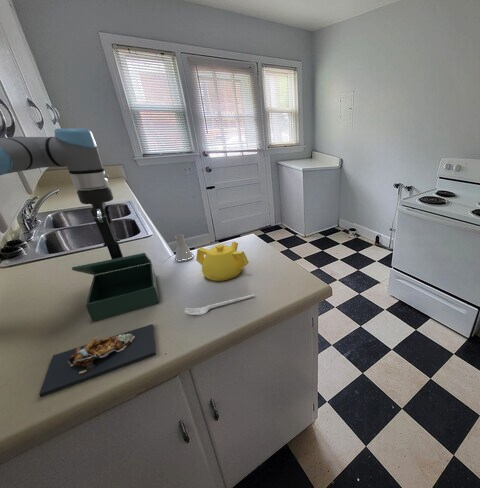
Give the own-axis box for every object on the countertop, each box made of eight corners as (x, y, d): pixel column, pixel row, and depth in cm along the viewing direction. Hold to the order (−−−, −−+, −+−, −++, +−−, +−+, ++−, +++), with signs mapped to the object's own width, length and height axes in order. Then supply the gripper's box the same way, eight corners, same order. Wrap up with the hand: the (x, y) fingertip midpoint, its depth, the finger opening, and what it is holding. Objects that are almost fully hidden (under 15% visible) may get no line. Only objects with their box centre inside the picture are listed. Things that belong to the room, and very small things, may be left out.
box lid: (145, 255, 78) (144, 252, 78) (72, 270, 70) (71, 267, 70) (151, 262, 95) (151, 260, 95) (93, 275, 87) (93, 272, 87)
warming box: (159, 302, 83) (154, 287, 81) (92, 321, 75) (85, 305, 73) (155, 276, 98) (151, 262, 95) (99, 289, 90) (93, 275, 87)
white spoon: (256, 299, 84) (256, 294, 83) (186, 319, 76) (184, 313, 75) (254, 294, 87) (253, 289, 86) (185, 312, 78) (184, 307, 77)
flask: (195, 259, 110) (190, 236, 106) (176, 264, 106) (170, 240, 103) (192, 253, 116) (187, 231, 112) (173, 257, 112) (168, 235, 108)
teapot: (261, 261, 108) (258, 235, 104) (240, 285, 92) (236, 256, 87) (215, 257, 112) (211, 232, 107) (187, 280, 95) (181, 251, 91)
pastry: (139, 340, 67) (135, 328, 66) (81, 376, 57) (75, 364, 56) (123, 331, 70) (119, 320, 69) (65, 364, 60) (59, 352, 59)
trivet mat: (40, 397, 54) (38, 394, 53) (54, 357, 63) (53, 355, 63) (155, 354, 64) (154, 352, 63) (153, 326, 73) (152, 323, 73)
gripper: (108, 190, 73) (133, 267, 82) (111, 182, 83) (133, 252, 92) (71, 193, 69) (102, 274, 78) (79, 185, 79) (105, 257, 88)
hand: (118, 262), depth 85 cm, fingers closed
